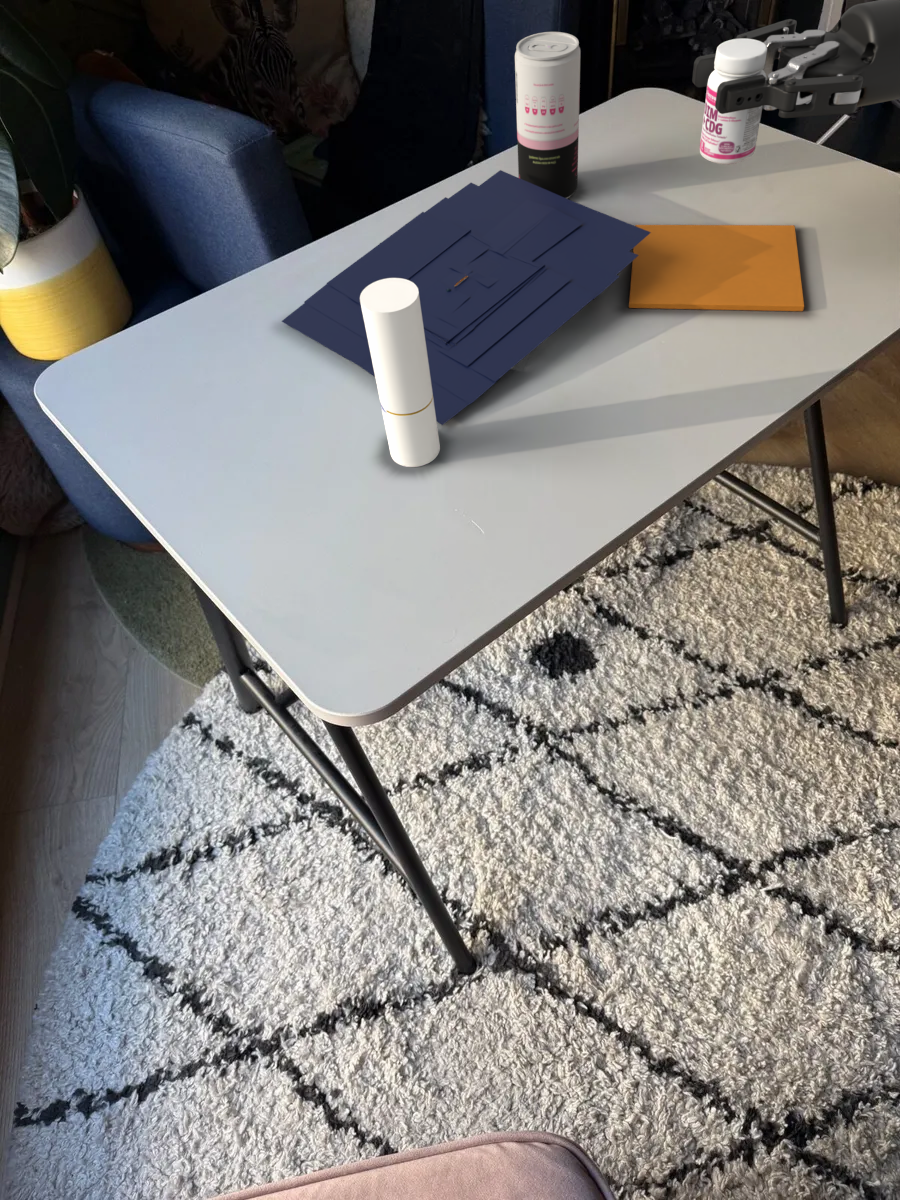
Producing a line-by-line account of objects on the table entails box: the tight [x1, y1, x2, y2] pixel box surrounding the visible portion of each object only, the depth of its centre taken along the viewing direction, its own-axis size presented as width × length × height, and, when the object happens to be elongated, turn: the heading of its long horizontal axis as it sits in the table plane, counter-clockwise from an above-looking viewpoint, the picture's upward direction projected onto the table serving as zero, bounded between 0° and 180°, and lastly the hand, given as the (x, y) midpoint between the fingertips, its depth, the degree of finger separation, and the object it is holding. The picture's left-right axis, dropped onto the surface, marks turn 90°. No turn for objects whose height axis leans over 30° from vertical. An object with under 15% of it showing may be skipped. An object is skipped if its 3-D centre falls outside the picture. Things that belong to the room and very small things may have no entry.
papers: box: [281, 169, 651, 426], centre depth 86 cm, size 24×30×4 cm
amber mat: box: [628, 224, 805, 312], centre depth 87 cm, size 16×14×1 cm
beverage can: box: [514, 31, 581, 199], centre depth 93 cm, size 6×6×15 cm
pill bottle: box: [699, 38, 767, 165], centre depth 74 cm, size 5×5×8 cm
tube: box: [360, 278, 441, 468], centre depth 69 cm, size 4×4×15 cm
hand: (707, 85), depth 73 cm, fingers closed on pill bottle, 4 cm apart
